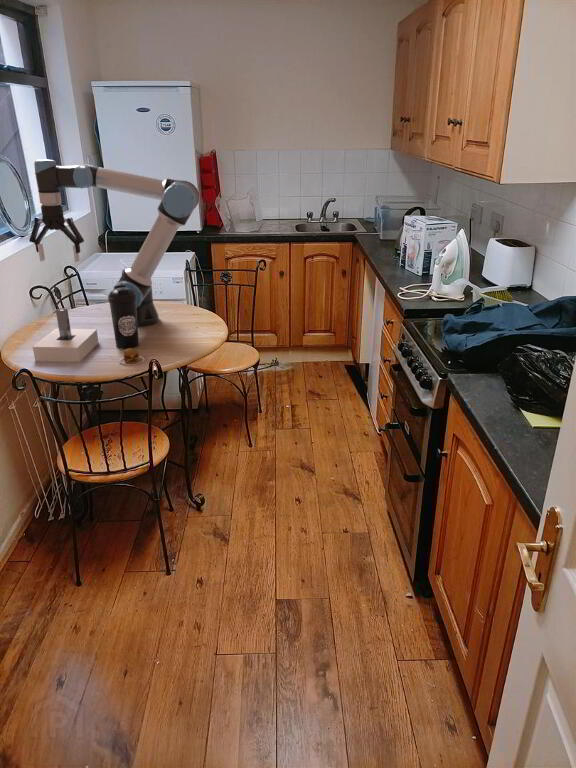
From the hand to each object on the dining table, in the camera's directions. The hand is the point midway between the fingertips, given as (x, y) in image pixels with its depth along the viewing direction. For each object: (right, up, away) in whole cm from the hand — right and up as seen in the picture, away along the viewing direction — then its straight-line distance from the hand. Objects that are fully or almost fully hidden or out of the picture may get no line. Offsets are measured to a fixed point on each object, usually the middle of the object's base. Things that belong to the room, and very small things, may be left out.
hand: (60, 261), depth 218 cm
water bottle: (+27, -33, -2) cm, 43 cm away
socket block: (+7, -36, -9) cm, 38 cm away
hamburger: (+33, -40, -16) cm, 55 cm away
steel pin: (+7, -34, -10) cm, 36 cm away
